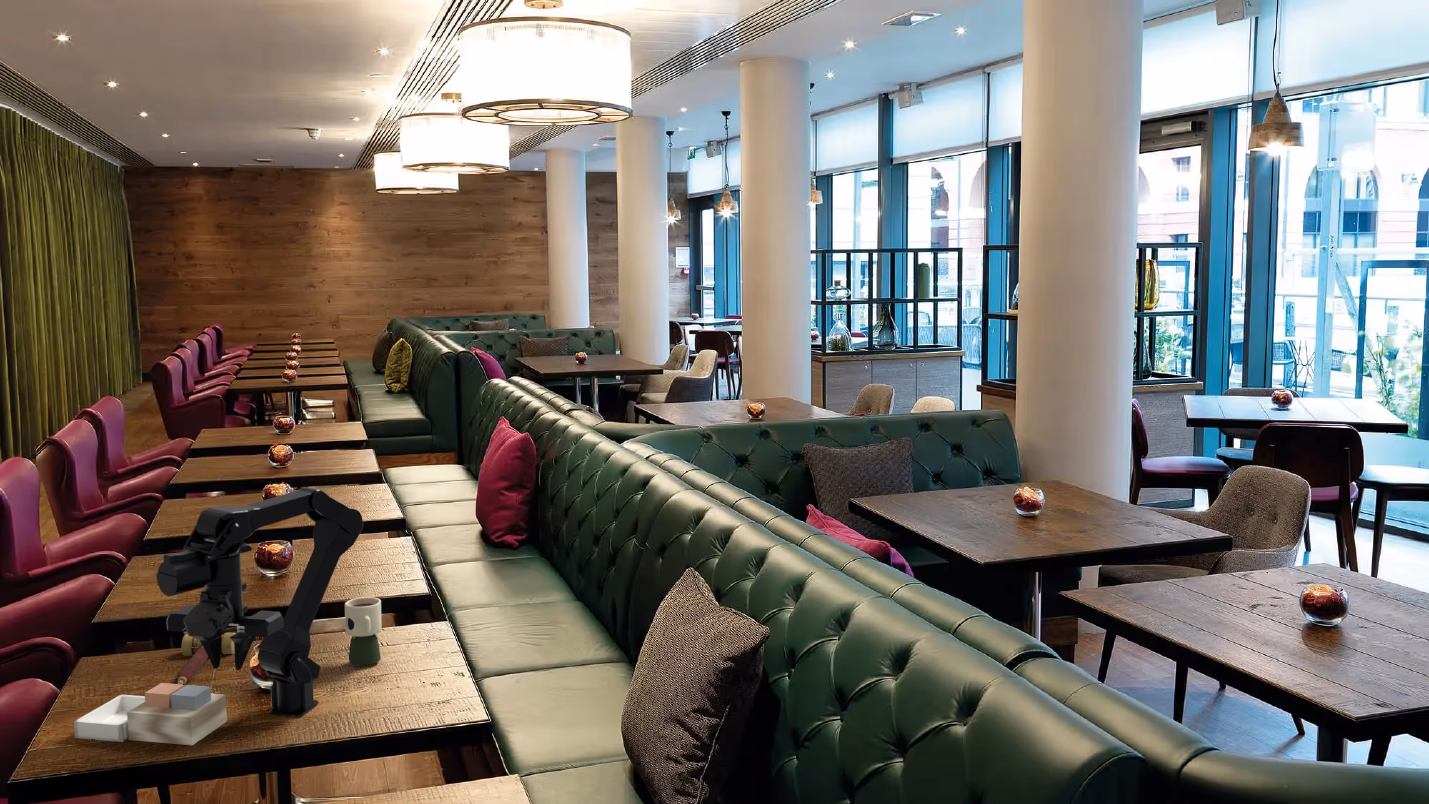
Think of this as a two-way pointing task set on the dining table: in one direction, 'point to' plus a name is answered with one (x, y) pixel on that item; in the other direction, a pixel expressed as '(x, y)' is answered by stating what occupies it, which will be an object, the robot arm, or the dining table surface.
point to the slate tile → (191, 697)
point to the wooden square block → (176, 722)
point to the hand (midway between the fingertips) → (227, 668)
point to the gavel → (200, 655)
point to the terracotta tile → (161, 695)
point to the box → (108, 720)
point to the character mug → (363, 629)
